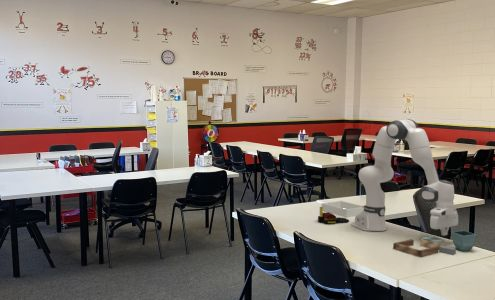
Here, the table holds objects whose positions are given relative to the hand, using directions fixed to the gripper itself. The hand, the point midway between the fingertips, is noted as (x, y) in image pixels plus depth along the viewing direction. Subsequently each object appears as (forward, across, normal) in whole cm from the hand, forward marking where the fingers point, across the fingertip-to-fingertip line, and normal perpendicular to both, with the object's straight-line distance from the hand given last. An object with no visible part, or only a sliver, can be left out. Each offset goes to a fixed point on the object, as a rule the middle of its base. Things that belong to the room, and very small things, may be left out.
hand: (444, 235), depth 264 cm
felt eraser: (+6, +12, +10) cm, 17 cm away
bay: (+5, +22, -1) cm, 23 cm away
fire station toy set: (+4, +18, -69) cm, 71 cm away
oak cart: (+5, +9, -1) cm, 10 cm away
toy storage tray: (+4, -7, -85) cm, 85 cm away
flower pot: (+6, 0, +11) cm, 13 cm away
